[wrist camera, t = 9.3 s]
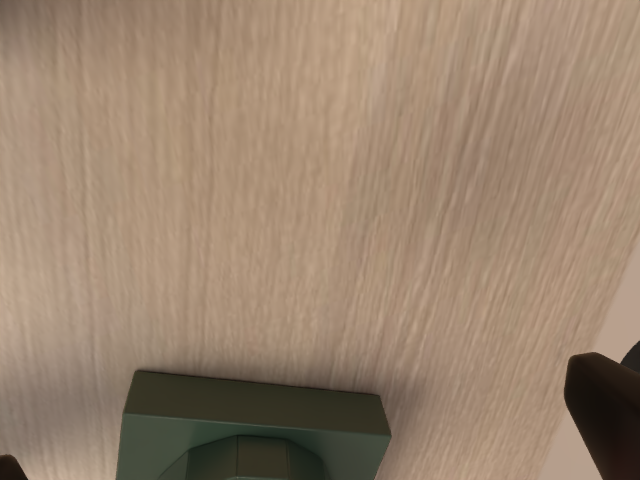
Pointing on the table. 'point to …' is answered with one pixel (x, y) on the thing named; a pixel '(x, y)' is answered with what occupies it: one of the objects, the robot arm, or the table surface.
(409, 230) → the table surface
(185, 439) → the housing
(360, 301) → the table surface
